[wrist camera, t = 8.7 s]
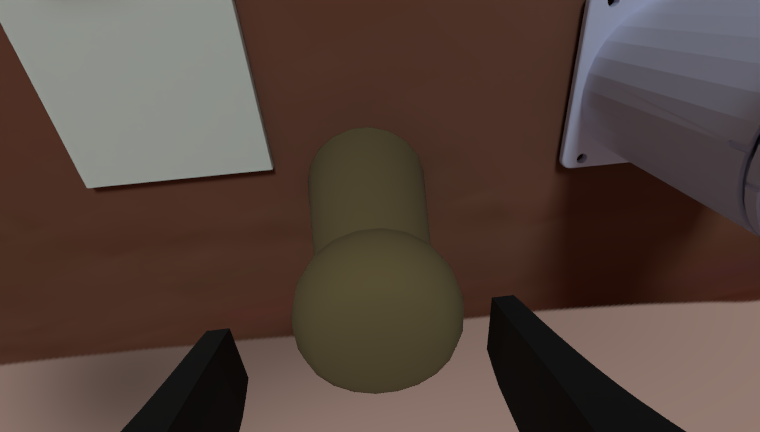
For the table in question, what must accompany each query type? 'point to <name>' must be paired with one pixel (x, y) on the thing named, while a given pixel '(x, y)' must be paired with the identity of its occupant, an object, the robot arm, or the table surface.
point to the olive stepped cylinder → (373, 270)
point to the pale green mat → (143, 86)
